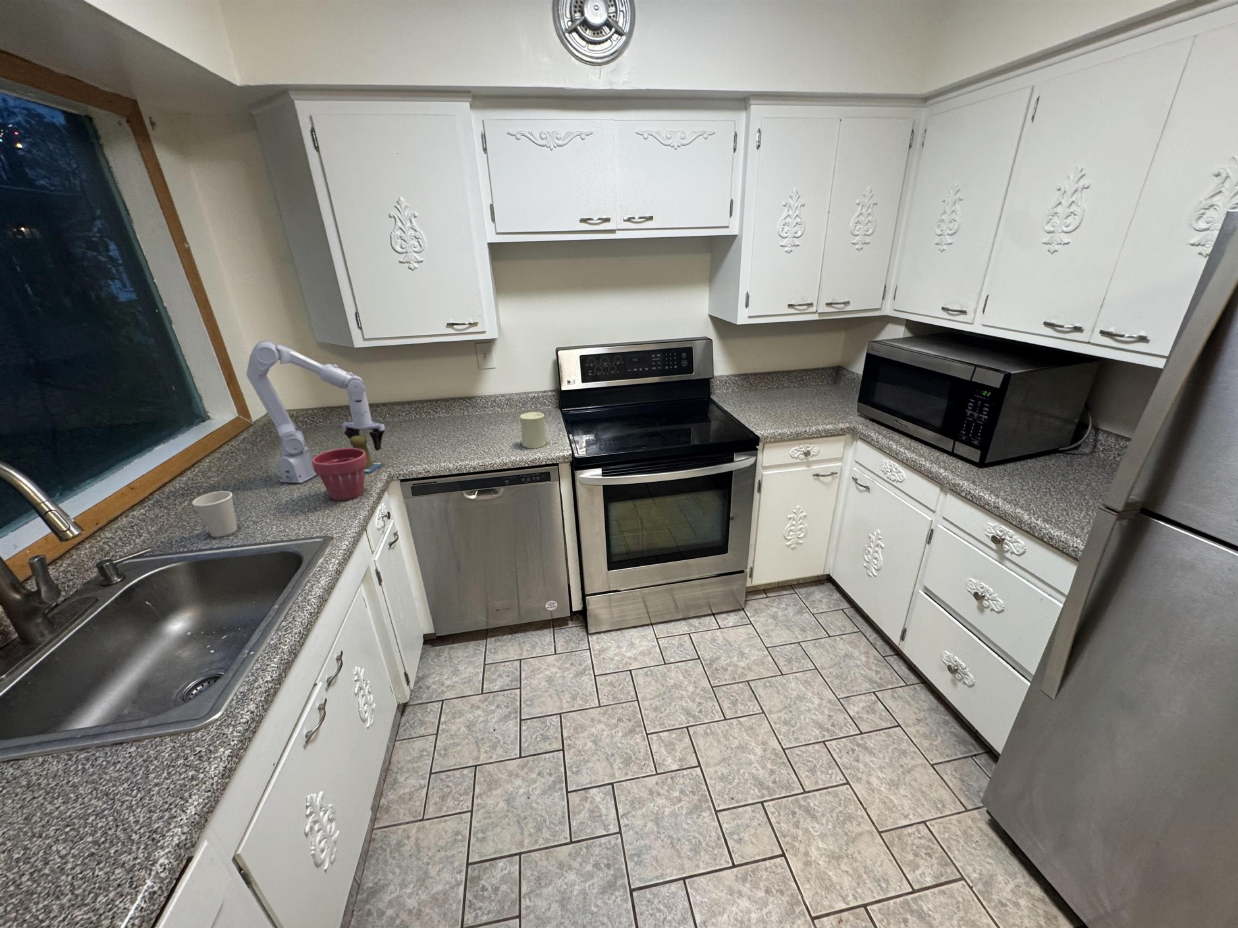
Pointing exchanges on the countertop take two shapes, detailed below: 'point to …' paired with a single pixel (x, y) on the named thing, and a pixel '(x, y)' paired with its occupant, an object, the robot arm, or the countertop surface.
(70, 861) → the countertop surface
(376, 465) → the towel
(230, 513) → the dixie cup
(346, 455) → the flower pot
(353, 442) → the cork
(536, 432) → the can
